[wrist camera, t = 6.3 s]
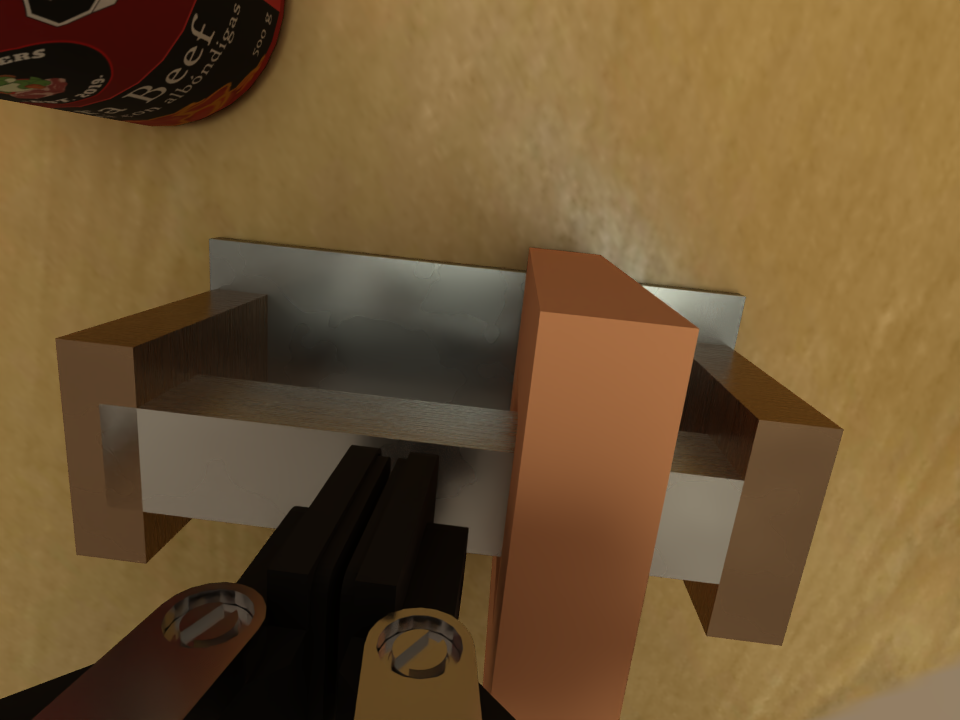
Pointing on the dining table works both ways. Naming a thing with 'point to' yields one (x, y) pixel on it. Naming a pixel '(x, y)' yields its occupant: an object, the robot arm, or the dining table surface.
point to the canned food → (135, 55)
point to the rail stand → (414, 417)
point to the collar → (583, 485)
